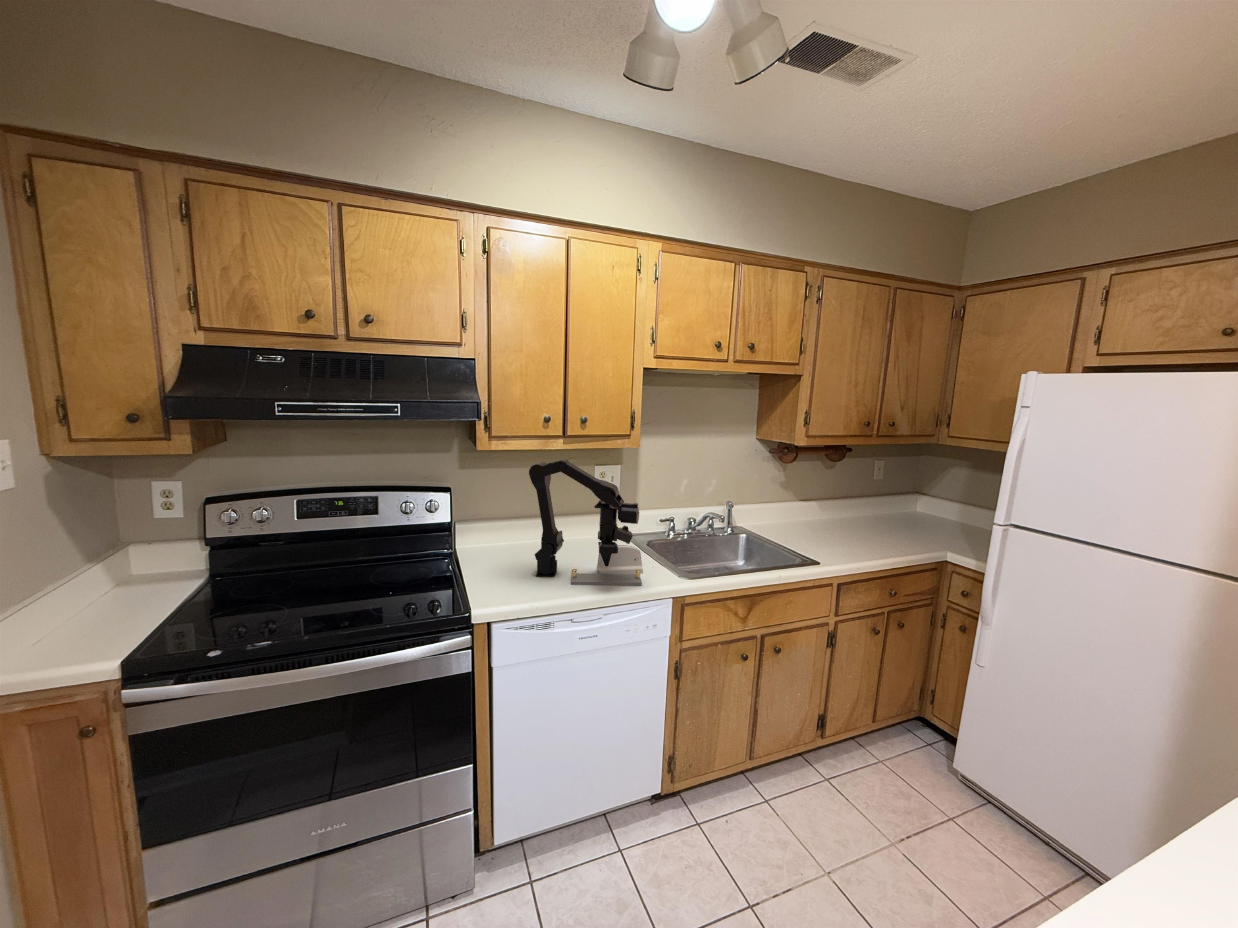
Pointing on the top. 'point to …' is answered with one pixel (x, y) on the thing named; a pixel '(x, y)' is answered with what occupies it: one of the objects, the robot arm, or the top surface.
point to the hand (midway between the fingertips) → (606, 565)
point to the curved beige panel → (622, 561)
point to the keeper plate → (606, 579)
